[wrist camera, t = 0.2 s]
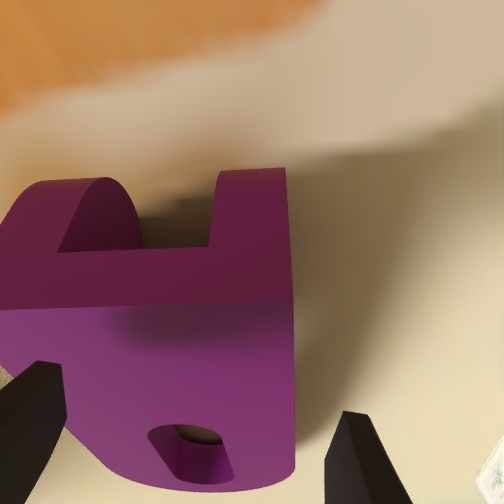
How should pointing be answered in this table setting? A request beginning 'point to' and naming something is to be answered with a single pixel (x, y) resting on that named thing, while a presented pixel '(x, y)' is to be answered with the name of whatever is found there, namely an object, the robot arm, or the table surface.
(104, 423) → the mounting bracket
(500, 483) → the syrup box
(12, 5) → the table surface
